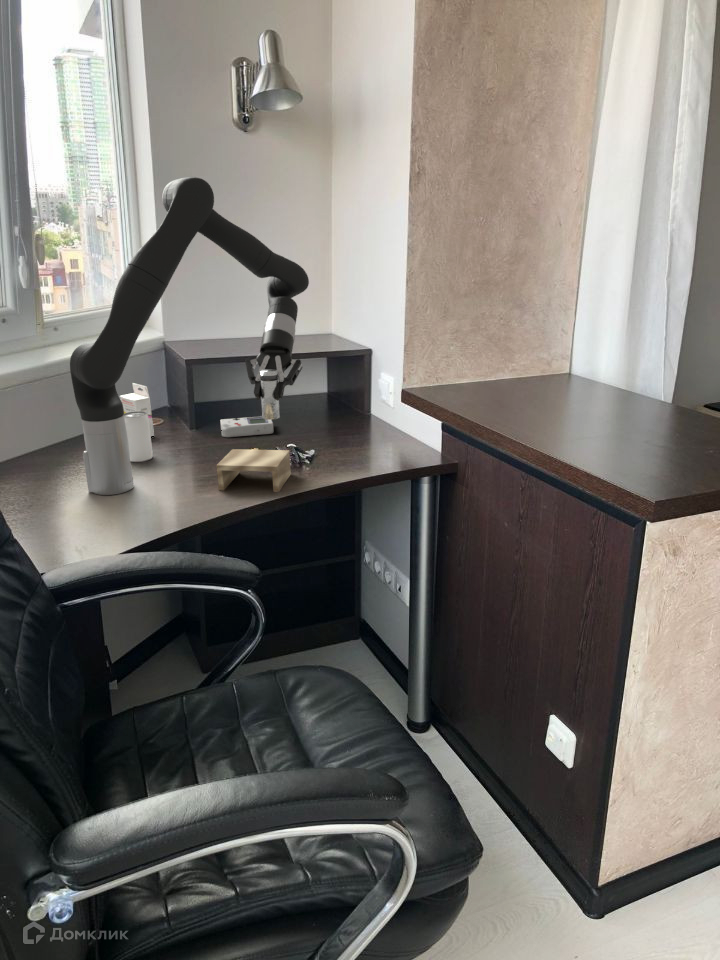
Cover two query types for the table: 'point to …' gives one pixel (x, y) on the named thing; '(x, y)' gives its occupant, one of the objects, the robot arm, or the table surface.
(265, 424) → the handheld gaming device
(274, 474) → the riser
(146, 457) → the can
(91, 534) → the table surface
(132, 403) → the ink cartridge box
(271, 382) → the spice jar
